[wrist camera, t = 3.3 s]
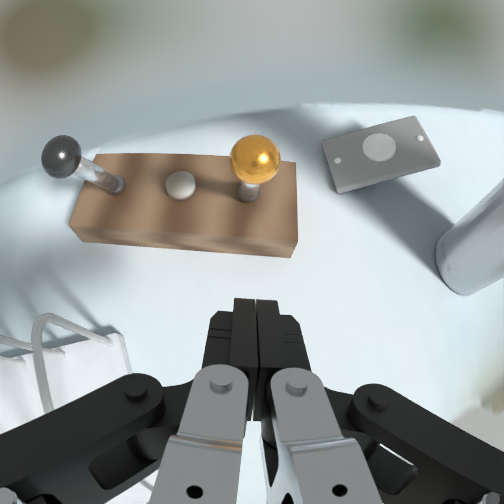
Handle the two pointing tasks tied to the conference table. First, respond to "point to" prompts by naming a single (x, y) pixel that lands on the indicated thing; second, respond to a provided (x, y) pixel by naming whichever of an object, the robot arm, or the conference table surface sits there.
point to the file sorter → (62, 381)
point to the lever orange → (254, 164)
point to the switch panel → (188, 206)
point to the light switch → (379, 154)
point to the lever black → (77, 165)
